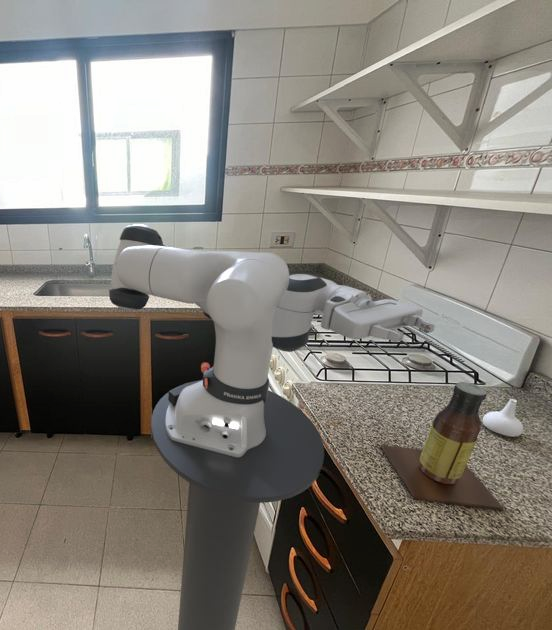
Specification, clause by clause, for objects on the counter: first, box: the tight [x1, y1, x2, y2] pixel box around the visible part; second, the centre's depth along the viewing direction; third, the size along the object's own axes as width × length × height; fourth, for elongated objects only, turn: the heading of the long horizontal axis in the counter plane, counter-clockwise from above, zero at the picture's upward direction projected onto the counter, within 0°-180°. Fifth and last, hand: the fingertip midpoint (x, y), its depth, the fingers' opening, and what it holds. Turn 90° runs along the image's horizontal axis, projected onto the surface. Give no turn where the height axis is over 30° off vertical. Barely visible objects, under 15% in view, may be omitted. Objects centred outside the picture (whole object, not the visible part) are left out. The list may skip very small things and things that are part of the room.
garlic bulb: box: [482, 398, 524, 438], centre depth 77 cm, size 6×6×8 cm
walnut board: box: [380, 445, 505, 511], centre depth 67 cm, size 14×13×1 cm
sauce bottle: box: [419, 381, 488, 484], centre depth 63 cm, size 7×6×20 cm
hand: (416, 333), depth 66 cm, fingers open, 8 cm apart
